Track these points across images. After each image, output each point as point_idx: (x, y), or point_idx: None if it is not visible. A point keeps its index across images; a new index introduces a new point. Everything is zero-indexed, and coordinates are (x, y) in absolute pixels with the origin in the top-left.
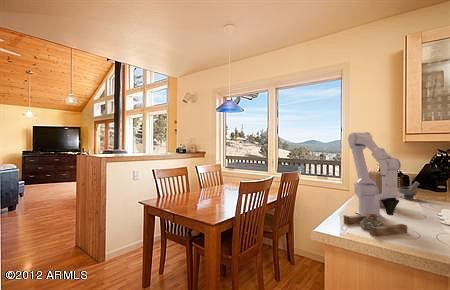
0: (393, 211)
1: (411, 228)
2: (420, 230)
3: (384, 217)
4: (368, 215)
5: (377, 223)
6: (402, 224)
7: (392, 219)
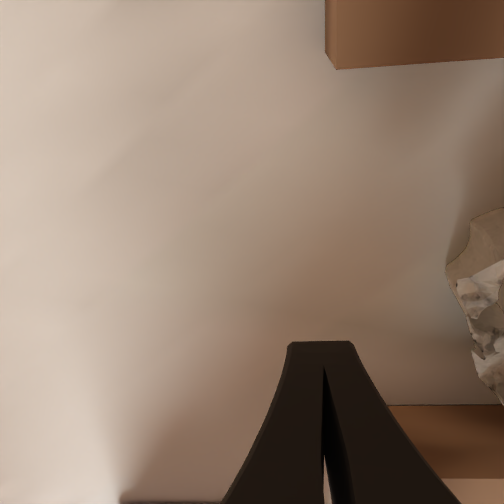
0: (300, 391)
1: (87, 113)
2: (10, 6)
3: (122, 466)
4: (470, 488)
5: (496, 313)
6: (376, 30)
7: (80, 409)
